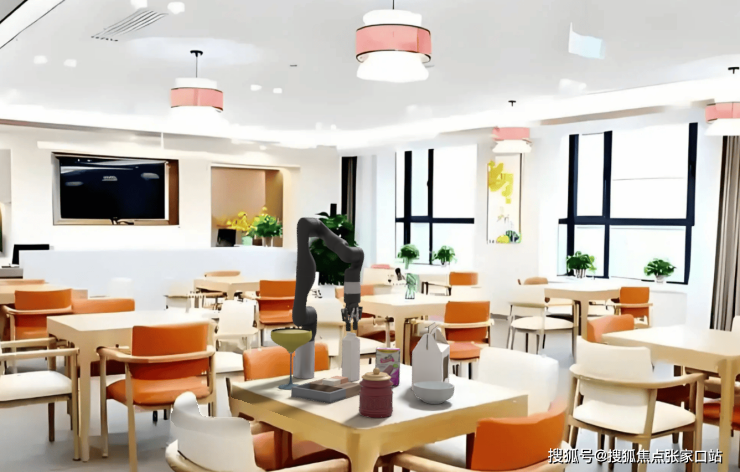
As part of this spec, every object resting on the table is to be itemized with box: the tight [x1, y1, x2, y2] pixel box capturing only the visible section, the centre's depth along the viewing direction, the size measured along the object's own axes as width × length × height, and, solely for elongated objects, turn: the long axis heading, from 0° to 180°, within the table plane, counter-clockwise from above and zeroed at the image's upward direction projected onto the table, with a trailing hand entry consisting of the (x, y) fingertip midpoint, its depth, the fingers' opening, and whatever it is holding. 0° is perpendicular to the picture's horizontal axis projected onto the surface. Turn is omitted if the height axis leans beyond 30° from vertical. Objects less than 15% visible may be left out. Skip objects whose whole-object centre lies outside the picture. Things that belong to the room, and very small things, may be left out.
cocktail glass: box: [270, 327, 312, 391], centre depth 324 cm, size 18×18×25 cm
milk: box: [341, 331, 361, 382], centre depth 341 cm, size 6×6×22 cm
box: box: [290, 382, 347, 404], centre depth 305 cm, size 20×11×4 cm, turn 56°
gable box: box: [411, 322, 451, 392], centre depth 329 cm, size 22×13×28 cm, turn 165°
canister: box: [358, 367, 394, 419], centre depth 279 cm, size 13×13×18 cm
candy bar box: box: [374, 346, 402, 386], centre depth 332 cm, size 11×5×16 cm, turn 84°
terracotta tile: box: [329, 375, 349, 384], centre depth 317 cm, size 6×5×2 cm
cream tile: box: [322, 377, 341, 386], centre depth 312 cm, size 6×5×2 cm
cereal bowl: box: [413, 381, 455, 405], centre depth 300 cm, size 17×17×7 cm
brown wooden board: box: [308, 377, 361, 399], centre depth 314 cm, size 20×12×4 cm, turn 56°
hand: (351, 330), depth 324 cm, fingers open, 4 cm apart
